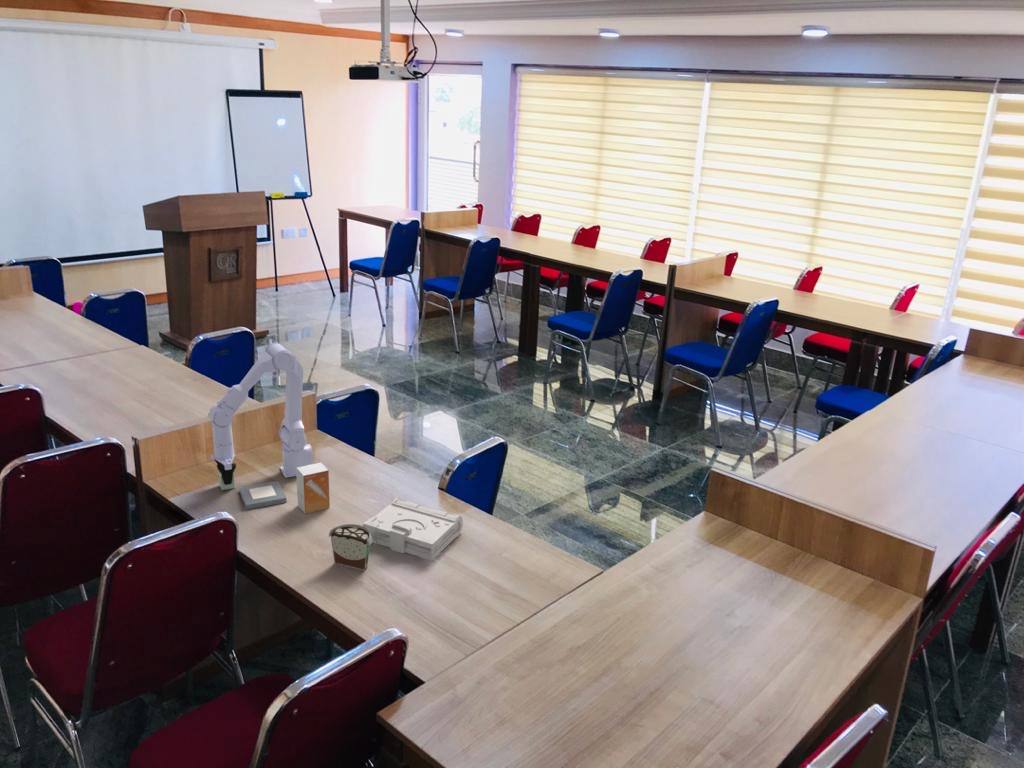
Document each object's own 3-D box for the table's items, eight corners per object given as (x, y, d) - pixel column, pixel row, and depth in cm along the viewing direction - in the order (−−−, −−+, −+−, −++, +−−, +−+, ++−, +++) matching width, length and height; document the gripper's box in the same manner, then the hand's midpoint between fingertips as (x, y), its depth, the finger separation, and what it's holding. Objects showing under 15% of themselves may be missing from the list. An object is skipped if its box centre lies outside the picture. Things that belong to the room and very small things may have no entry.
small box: (304, 514, 252) (302, 475, 248) (297, 505, 257) (295, 467, 253) (330, 508, 257) (328, 469, 252) (322, 499, 261) (321, 461, 257)
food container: (380, 560, 231) (380, 528, 227) (370, 571, 225) (369, 539, 222) (341, 551, 234) (340, 519, 231) (329, 562, 229) (328, 530, 225)
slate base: (278, 485, 269) (278, 480, 268) (286, 502, 259) (286, 497, 258) (239, 491, 264) (239, 487, 263) (246, 509, 254) (246, 504, 253)
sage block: (232, 482, 269) (231, 468, 267) (234, 487, 266) (233, 473, 264) (219, 484, 267) (218, 470, 266) (221, 490, 264) (220, 475, 262)
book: (384, 509, 258) (384, 487, 255) (465, 532, 247) (465, 510, 244) (347, 539, 241) (346, 516, 239) (431, 565, 230) (431, 541, 228)
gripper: (206, 434, 265) (210, 473, 270) (213, 453, 253) (216, 493, 258) (229, 431, 268) (232, 469, 273) (237, 449, 256) (240, 489, 261)
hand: (226, 480), depth 266 cm, fingers closed on sage block, 4 cm apart
